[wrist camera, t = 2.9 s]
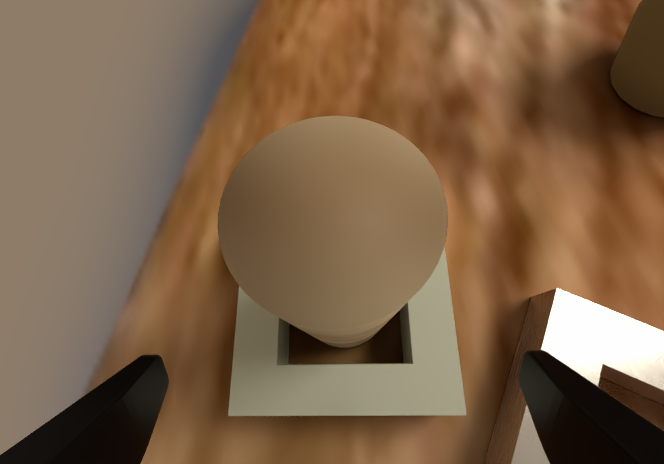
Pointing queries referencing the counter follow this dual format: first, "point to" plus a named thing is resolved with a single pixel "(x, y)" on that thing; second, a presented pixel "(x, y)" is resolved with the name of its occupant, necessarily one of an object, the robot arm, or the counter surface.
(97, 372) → the counter surface
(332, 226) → the tan rounded peg
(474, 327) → the counter surface
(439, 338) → the collar
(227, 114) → the counter surface
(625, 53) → the squeeze bottle
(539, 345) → the socket block
